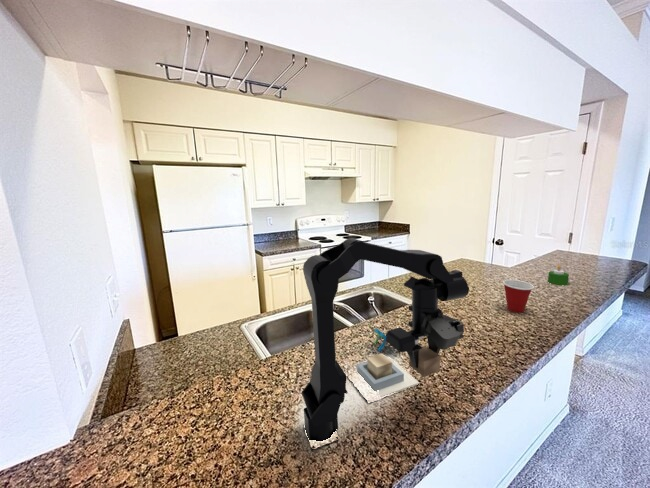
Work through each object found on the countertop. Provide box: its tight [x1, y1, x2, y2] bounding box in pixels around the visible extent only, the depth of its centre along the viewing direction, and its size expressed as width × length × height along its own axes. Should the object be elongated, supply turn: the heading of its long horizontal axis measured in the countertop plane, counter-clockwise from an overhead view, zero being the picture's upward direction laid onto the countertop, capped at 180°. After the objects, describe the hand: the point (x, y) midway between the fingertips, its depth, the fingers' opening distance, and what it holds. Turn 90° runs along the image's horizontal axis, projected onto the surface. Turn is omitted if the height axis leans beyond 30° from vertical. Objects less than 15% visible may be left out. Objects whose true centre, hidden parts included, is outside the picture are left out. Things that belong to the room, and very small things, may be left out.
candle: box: [547, 264, 570, 286], centre depth 146 cm, size 8×8×10 cm
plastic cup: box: [502, 279, 535, 313], centre depth 116 cm, size 11×11×12 cm
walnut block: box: [408, 345, 441, 378], centre depth 67 cm, size 5×5×4 cm
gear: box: [373, 328, 389, 352], centre depth 92 cm, size 11×6×10 cm
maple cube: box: [366, 352, 392, 380], centre depth 77 cm, size 5×5×5 cm
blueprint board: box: [356, 356, 420, 397], centre depth 77 cm, size 16×14×3 cm
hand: (424, 364), depth 67 cm, fingers closed on walnut block, 5 cm apart
